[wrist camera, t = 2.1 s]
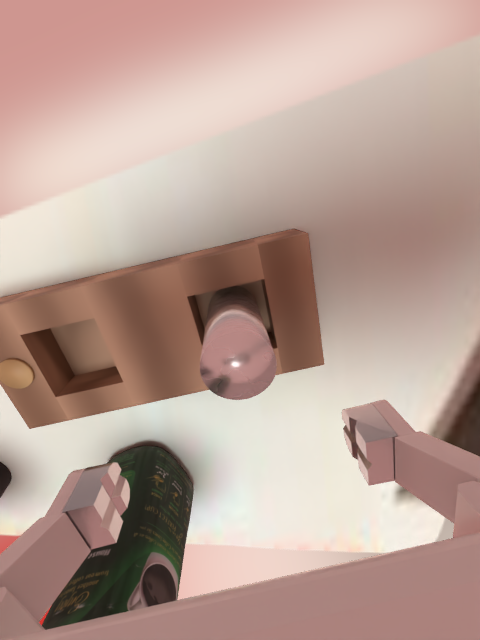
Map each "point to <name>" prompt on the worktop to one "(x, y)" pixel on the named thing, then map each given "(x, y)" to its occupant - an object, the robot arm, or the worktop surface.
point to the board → (149, 328)
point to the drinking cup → (4, 478)
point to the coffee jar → (134, 545)
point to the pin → (236, 346)
